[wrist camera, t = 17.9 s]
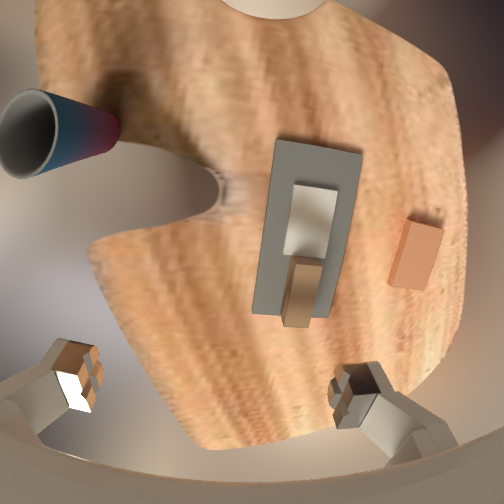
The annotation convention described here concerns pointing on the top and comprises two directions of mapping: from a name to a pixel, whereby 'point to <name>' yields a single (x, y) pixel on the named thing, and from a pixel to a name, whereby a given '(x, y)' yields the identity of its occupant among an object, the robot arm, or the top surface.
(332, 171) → the rest mat
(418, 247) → the tile
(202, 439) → the top surface
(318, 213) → the turner
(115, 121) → the cup
